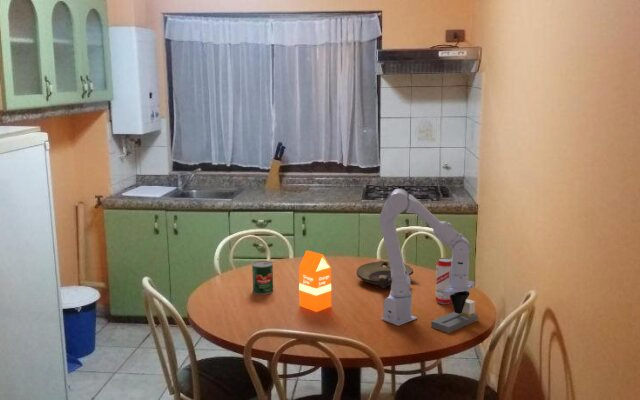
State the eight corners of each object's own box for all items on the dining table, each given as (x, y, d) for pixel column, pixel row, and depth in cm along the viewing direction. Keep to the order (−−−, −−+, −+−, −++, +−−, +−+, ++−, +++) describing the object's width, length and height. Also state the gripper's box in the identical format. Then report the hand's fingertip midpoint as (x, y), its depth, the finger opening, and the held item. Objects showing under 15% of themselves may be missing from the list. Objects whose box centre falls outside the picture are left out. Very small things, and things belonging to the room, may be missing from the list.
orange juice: (314, 300, 231) (313, 248, 227) (331, 306, 225) (331, 252, 221) (299, 305, 226) (298, 252, 222) (316, 312, 219) (315, 257, 216)
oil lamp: (421, 277, 257) (421, 259, 255) (392, 299, 231) (393, 279, 230) (371, 269, 268) (371, 252, 266) (339, 290, 242) (339, 271, 241)
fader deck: (448, 333, 200) (448, 326, 200) (431, 326, 205) (431, 320, 205) (477, 320, 210) (477, 314, 210) (460, 314, 216) (460, 308, 215)
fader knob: (469, 314, 208) (469, 303, 208) (457, 310, 212) (457, 299, 211) (474, 312, 210) (475, 301, 210) (462, 308, 214) (462, 297, 213)
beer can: (440, 297, 232) (441, 256, 229) (456, 301, 228) (457, 259, 225) (432, 302, 228) (433, 260, 225) (447, 306, 224) (449, 263, 221)
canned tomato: (260, 296, 236) (260, 268, 234) (248, 291, 242) (247, 263, 240) (277, 291, 241) (276, 263, 239) (265, 286, 247) (264, 259, 245)
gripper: (456, 280, 198) (455, 321, 201) (482, 271, 208) (480, 310, 210) (438, 275, 203) (437, 315, 206) (464, 266, 213) (463, 304, 215)
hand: (458, 312), depth 208 cm, fingers closed
